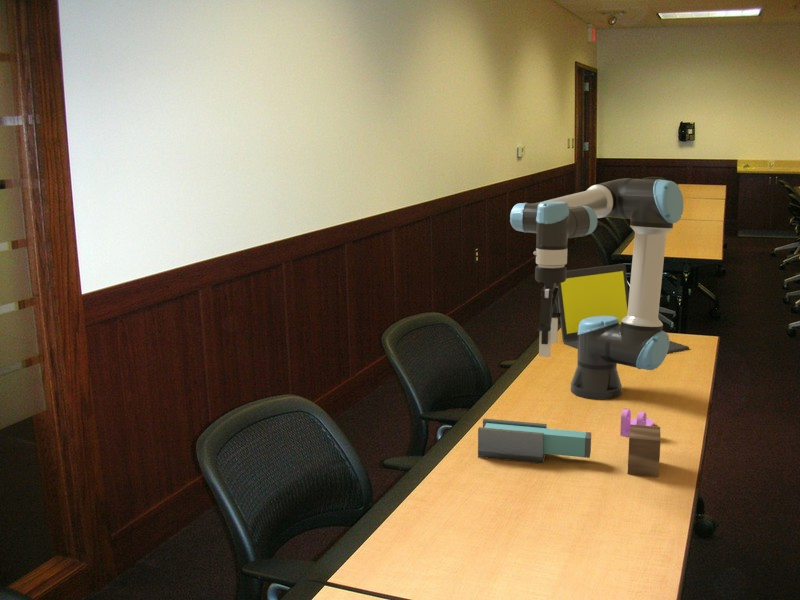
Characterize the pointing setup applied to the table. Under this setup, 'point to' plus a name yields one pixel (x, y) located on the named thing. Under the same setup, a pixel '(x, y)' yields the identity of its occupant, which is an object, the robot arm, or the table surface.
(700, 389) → the table surface
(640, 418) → the bracket
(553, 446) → the bar
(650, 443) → the socket block
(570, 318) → the laptop
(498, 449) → the sleeve
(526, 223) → the robot arm
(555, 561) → the table surface
